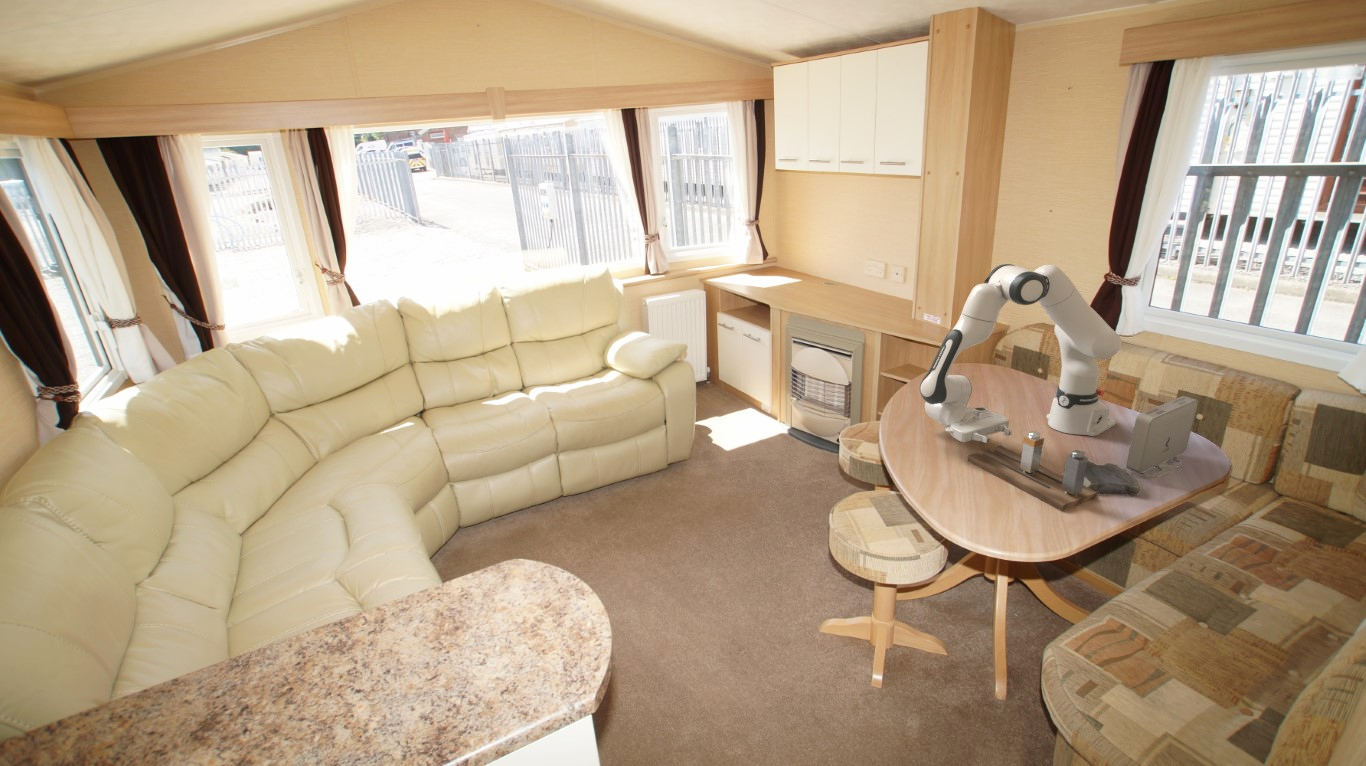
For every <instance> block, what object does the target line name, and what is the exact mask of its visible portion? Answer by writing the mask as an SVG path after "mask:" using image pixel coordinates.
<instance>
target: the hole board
mask: <svg viewBox="0 0 1366 766" xmlns="http://www.w3.org/2000/svg"><path fill="white" fill-rule="evenodd" d="M1021 457H1022V454H1019V453H1017V452H1015V451H1013V450H1010V449H1009V448H1006V447H1004V446H1003V445H1001V444H1000V445H997V446H993V447H990V448H988V449H984V450H980V451H978V452H975V453H971V454H968V455H967V462H969V463H971V464H973V465H975V466H976V467H978V468H981V469H982V470H983V471H986V472H988V473H990V474H991V475H993V476H996V477H997V478H999V479H1001V480H1003V482H1004V481H1005V482H1006V483H1008V484H1010V485H1012V486H1014V487H1015V488H1017V489H1019V490H1022V491H1023V492H1025V493H1028V494H1029V495H1031V497H1032V496H1033V497H1035V498H1036V499H1038V500H1040V501H1042V502H1043V503H1046V504H1047V505H1049V506H1051V507H1053V508H1055V509H1057V510H1058V511H1060V512H1064V511H1067V510H1070V509H1072V508H1074V507H1078V506H1081V505H1083V504H1086V503H1087V502H1091V501H1093V500H1096V499H1097V498H1098V495H1099V494H1098V492H1096V491H1094V490H1092V489H1090V488H1088V487H1086V486H1084V485H1083V488H1082V492H1080V493H1077V494H1074V495H1072V494H1069V493H1068V492H1066V491H1064V490H1062V489H1061V488H1062V482H1063V477H1064V474H1061V473H1058V472H1056V471H1055V470H1053V469H1050V468H1048V467H1046V466H1044V465H1041V464H1040V465H1039V470H1038V471H1035V472H1032V473H1029V472H1027V471H1025V470H1023V469H1021V468H1020V464H1021Z"/></svg>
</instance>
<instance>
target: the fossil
mask: <svg viewBox="0 0 1366 766" xmlns="http://www.w3.org/2000/svg"><path fill="white" fill-rule="evenodd" d="M1083 485H1084V486H1086V487H1088V488H1090V489H1092V490H1094V491H1096V492H1098V494H1097V495H1122V496H1123V494H1124V495H1128V496H1131V495H1132V497H1137V496H1138V494H1139V493H1140V491H1141V484H1140V481H1139V480H1138V479H1137V478H1135V477H1134V476H1132V474H1130V473H1129V472H1128V471H1127V469H1125V468H1121V467H1120V466H1119V465H1118V464H1114V463H1110V462H1109V463H1105V464H1096V463H1094V462H1091V461H1089V460H1088V461H1087V467H1086V472H1085V477H1084V483H1083Z"/></svg>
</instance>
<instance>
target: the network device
mask: <svg viewBox="0 0 1366 766" xmlns="http://www.w3.org/2000/svg"><path fill="white" fill-rule="evenodd" d="M1198 404H1199V400H1198V399H1195V398H1191V397H1188V396H1184V395H1182V396H1179V397H1177V398H1175V399H1173V400H1170V401H1168V402H1165V403H1163V404H1160V405H1158V406H1156V407H1153V408H1151V409H1149V410H1146V411H1143V412H1141V413H1139V414H1138V415H1137V416H1136V419H1135V422H1134V427H1133V430H1132V431H1133V432H1132V437H1131V441H1130V445H1129V450H1128V455H1127V459H1126V464H1125V467H1126V468H1125V470H1126V471H1128V470H1129V471H1128V472H1130V471H1131V472H1130V473H1133V474H1136V475H1138V476H1140V475H1141V476H1140V477H1144V478H1147V477H1148V479H1156V478H1159V477H1161V476H1162V474H1163V475H1165V474H1166V472H1167V473H1169V472H1171V471H1173V470H1174V469H1173V468H1175V467H1177V466H1179V467H1181V466H1182V465H1183V464H1184V461H1183V460H1184V459H1183V460H1182V459H1181V458H1179V457H1177V456H1180V455H1182V454H1183V453H1185V452H1186V450H1187V447H1188V444H1189V440H1190V436H1191V432H1192V429H1193V424H1194V421H1195V416H1196V412H1197V407H1198ZM1173 459H1175V460H1174V461H1176V460H1177V461H1176V463H1174V464H1172V465H1166V464H1165V462H1167V461H1169V460H1173ZM1178 461H1179V462H1178ZM1181 464H1182V465H1181ZM1180 465H1181V466H1180ZM1154 467H1155V468H1154ZM1153 468H1154V469H1156V468H1157V470H1159V469H1160V470H1159V471H1157V472H1156V473H1153V474H1148V473H1145V472H1147V471H1149V470H1151V469H1153ZM1177 468H1178V467H1177ZM1172 469H1173V470H1172ZM1175 469H1176V468H1175ZM1170 470H1171V471H1170ZM1168 471H1169V472H1168ZM1164 473H1165V474H1164ZM1160 475H1161V476H1160ZM1158 476H1159V477H1158Z"/></svg>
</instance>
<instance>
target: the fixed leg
mask: <svg viewBox="0 0 1366 766" xmlns="http://www.w3.org/2000/svg"><path fill="white" fill-rule="evenodd" d="M1065 460H1066V461H1065V464H1064V465H1065V466H1064V471H1063V476H1064V477H1063V482H1062V488H1061V489H1062V490H1064V491H1066V492H1068V493H1069V494H1072V495H1074V494H1077V493H1080V492H1082V488H1083V483H1084V477H1085V472H1086V467H1087V461H1089V457H1088V456H1085V452H1084V451H1082V450H1077V449H1076V450H1074V449H1073V450H1072V451H1071V453H1070V454H1067V455H1066V459H1065Z"/></svg>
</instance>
